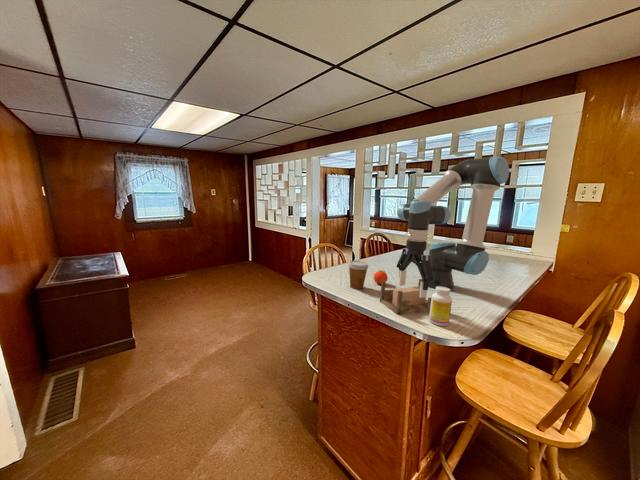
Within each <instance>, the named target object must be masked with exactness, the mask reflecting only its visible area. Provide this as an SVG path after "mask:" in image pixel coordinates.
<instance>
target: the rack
mask: <svg viewBox="0 0 640 480" xmlns="http://www.w3.org/2000/svg"><path fill="white" fill-rule="evenodd" d="M421 281H422V278H419V279H418V285H417V286H420V285H421ZM386 283H387V281H386V282H385V281H382V283H381V284H380V292H379V293H380V294H379V295H380V296H379V302H380V303H381V304H382V305H383V306H385V307H387V309H389V310H391V311H392V312H393V313H394V314H396V315H399V316H400V315H408V314H417V313H418V314H419V313H430V306H431V298H432V296H431V297H427V299H426V301H425V303H423V304H416V305H410V300H409V299H406V300H402V293H403V292H402V291H398V296H397V306H396V305H394V304H392V299H393V289H386Z"/></svg>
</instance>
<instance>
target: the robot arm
mask: <svg viewBox="0 0 640 480" xmlns="http://www.w3.org/2000/svg"><path fill="white" fill-rule="evenodd" d="M509 166H510V165H509V163H508V161H507V159H506V158H505V157H502V156H490V157H481V158H480V157H478V158H470V159H469V158H468V159H465V160H463V161H460V162H459V163H457V164H455V165H454V166H451V167H450V168H448V170H446V171H444V173H443V175H442V177H441V178H440V179H438V180H437V181H436V182H435V183H433V184H432V185H431V186H430V187H428V188H427V189H426V190H424V192H422V193H421V194H419V195H417V197H416V198H415V199H413V200H411V201H410V202H409V203H403V204H402V203H401V204H400V205H399V206H398V208H397V211H396V213H397V216H398V217H397V218H398V219H400V220H401V221H405V222H408V226H407V236H406V238H407V240H406V243H405V244H406V245H405V248H402V252H401V255H400V257H399V259H398V261H397V264H396V268H397V269H398V270H399V272H398V273H399V274H398V278H399V279H398V286H399V287H402V286H406V279H407V278H406V277H407V268H408V267H409V266H410V264H412V263H413V264H415V266H416V268H417V270H418V272H419V275H420V277H421V279H422V281H421V285H420V295H419V297H420V298H423V297H426V298H427V296H428V295H427V293H428V290H429V288H431V289H432V288H433V289H436V287H437V286H442V287H446V288H449V289H450V290H452V289H454V287H455V286H454V285H455V281H454V279H453V271H457V272H461V273H464V274H466V275H472V276H478V275H480V274H482V273H483V272H484V270H485V269H486V268H487V265H488V263H489V259H490V257H489V253H488V252H487V251H486V246H485V244H484V239H485V235H486V230H487V226H488V222H489V217H490V213H491V210H492V204H493V201H494V195H495V192H496V191H498V190H500V188H501V185H502V184H505V183H507V181H508V179H509V175H510V167H509ZM462 185H470V187H471V189H472V194H471V198H470V203H469V207H468V210H467V211H468V212H467V216H466V220H465V224H464V229H463V233H462V237H461V240H458V242H457V244H456V242H454V241H434V242H431V243H430V245H429V246H430V247H429V250H428V251H429V253H428V255H427V254H425V253H424V252H425V251H427V240H428V235H429V234H428V233H429V225H438V226H439V225H440V226H441V225H444V224H446V223H448V222H449V221H450V219H451V217H452V216H451V211H450V208H448V207H447V206H444V205H435V204H436V203H438V202H439V201H440V200H441V199H443V198H444V197H445V196H446V195H447V194H448V193H450V192H451V191H453V189H457V188H459V187H460V186H462Z"/></svg>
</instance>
